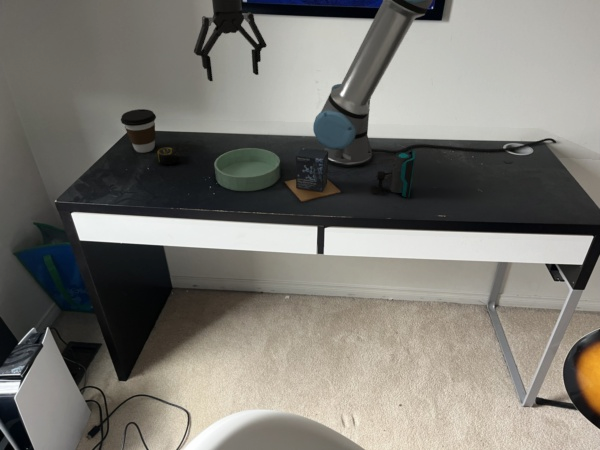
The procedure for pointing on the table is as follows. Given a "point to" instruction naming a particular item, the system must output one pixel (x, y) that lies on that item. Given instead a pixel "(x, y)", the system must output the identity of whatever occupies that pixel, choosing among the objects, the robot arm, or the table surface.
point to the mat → (308, 194)
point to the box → (311, 169)
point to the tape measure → (168, 155)
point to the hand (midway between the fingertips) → (233, 76)
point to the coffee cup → (140, 129)
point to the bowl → (247, 169)
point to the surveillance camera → (398, 175)
